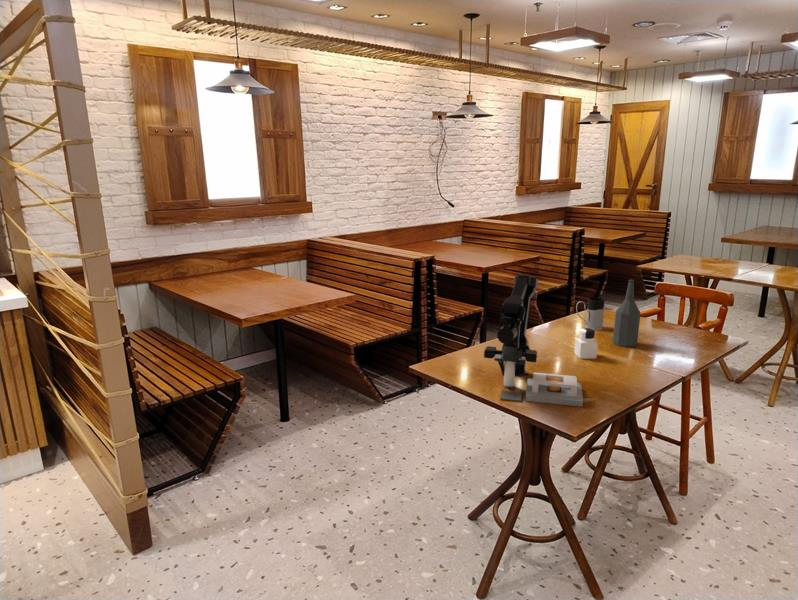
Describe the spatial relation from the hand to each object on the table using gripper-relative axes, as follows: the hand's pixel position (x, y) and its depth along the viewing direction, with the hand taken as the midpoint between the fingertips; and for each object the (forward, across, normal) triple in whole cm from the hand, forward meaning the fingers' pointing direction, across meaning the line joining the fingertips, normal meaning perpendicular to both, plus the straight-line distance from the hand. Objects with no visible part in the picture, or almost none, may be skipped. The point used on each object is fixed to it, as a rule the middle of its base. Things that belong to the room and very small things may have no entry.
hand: (509, 376), depth 202 cm
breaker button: (+2, +16, -3) cm, 16 cm away
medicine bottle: (+4, +29, +42) cm, 51 cm away
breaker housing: (+4, +16, -3) cm, 17 cm away
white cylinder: (+4, 0, 0) cm, 4 cm away
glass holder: (+4, +33, +86) cm, 92 cm away
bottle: (+4, +47, +64) cm, 79 cm away
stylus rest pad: (+4, +2, -9) cm, 10 cm away
